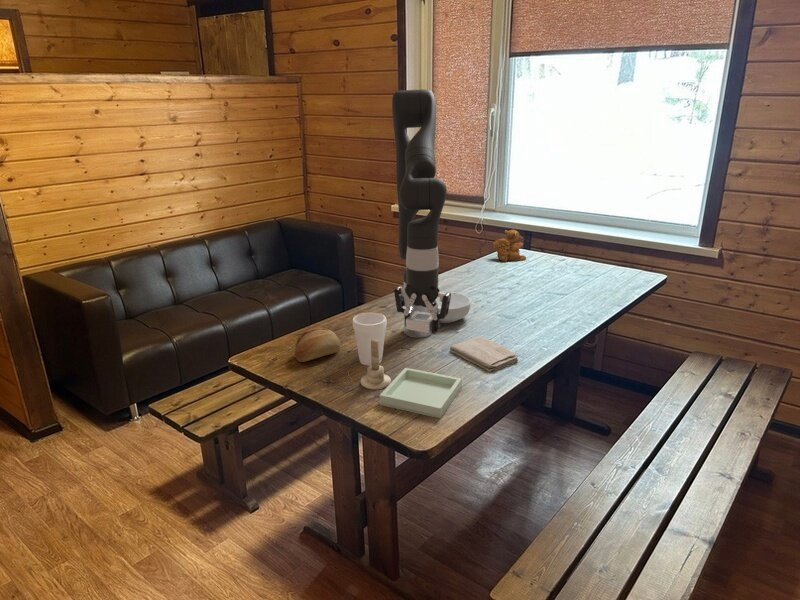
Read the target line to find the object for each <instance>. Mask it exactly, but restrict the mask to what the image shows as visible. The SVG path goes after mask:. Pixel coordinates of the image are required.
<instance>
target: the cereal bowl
mask: <svg viewBox="0 0 800 600" xmlns="http://www.w3.org/2000/svg"><path fill="white" fill-rule="evenodd" d="M441 292H442V293H448V292H449V293H450V294H451V299H450V305H449V310H448V315H447V316H446V317H445V318H444V319H440V324H451V323H454V322H456V321H459V320H462V319H464V318H465V317H466V316H467V315H468V313H469V312H470V310H471V302H472V301H471V299H470V298H469V296H467V295H465V294H463V293H459V292H454V291H441ZM436 302H437V304H438V309H439V311H441V305H442V302H441V301H440V298H439V297H437V299H436Z"/></svg>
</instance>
